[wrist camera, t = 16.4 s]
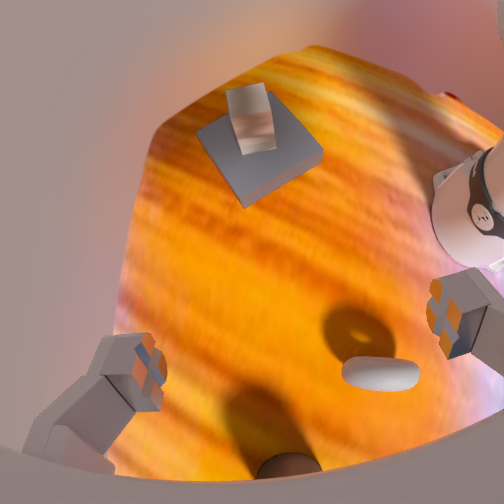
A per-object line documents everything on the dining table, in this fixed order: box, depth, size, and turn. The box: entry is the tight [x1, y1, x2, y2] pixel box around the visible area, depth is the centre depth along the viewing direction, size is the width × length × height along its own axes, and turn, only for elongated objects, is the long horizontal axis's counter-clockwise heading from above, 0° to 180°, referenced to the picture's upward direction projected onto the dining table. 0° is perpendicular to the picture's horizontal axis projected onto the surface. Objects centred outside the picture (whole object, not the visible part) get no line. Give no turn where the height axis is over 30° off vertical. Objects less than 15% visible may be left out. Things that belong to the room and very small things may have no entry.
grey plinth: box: [195, 91, 323, 209], centre depth 47 cm, size 14×14×4 cm
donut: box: [342, 356, 420, 391], centre depth 34 cm, size 10×4×10 cm, turn 82°
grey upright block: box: [226, 82, 277, 155], centre depth 40 cm, size 5×5×9 cm
